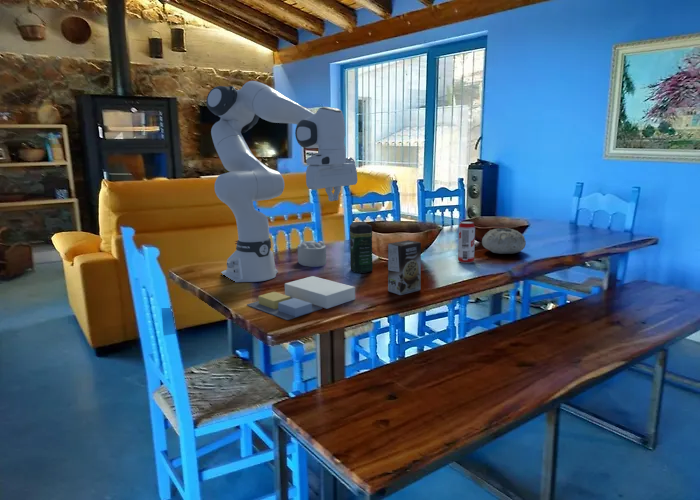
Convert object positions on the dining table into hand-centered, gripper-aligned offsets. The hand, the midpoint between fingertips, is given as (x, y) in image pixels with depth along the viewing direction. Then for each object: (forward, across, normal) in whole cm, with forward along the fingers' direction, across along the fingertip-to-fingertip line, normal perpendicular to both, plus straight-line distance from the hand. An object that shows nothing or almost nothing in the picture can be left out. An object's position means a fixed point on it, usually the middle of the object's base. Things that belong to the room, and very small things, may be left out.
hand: (333, 200), depth 169 cm
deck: (+29, +13, +6) cm, 32 cm away
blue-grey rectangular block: (+28, +27, +11) cm, 40 cm away
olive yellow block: (+28, +27, +1) cm, 39 cm away
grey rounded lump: (+29, -80, +19) cm, 87 cm away
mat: (+29, +26, +5) cm, 40 cm away
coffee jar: (+29, -20, -7) cm, 36 cm away
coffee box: (+29, -10, +22) cm, 38 cm away
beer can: (+29, -56, +16) cm, 65 cm away
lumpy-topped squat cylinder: (+29, -16, -30) cm, 45 cm away
